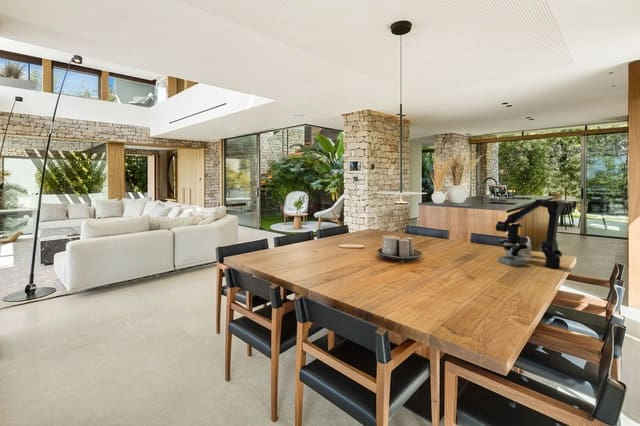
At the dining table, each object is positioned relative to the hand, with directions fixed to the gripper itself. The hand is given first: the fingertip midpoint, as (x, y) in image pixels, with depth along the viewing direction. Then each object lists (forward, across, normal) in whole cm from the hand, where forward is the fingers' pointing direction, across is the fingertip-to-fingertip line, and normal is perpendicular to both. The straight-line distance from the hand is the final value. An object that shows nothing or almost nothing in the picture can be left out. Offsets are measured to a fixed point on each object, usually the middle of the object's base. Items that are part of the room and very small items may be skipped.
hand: (511, 256), depth 213 cm
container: (+2, +8, -15) cm, 17 cm away
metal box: (+2, 0, 0) cm, 2 cm away
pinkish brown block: (+2, -3, -6) cm, 7 cm away
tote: (+2, -10, +8) cm, 13 cm away
